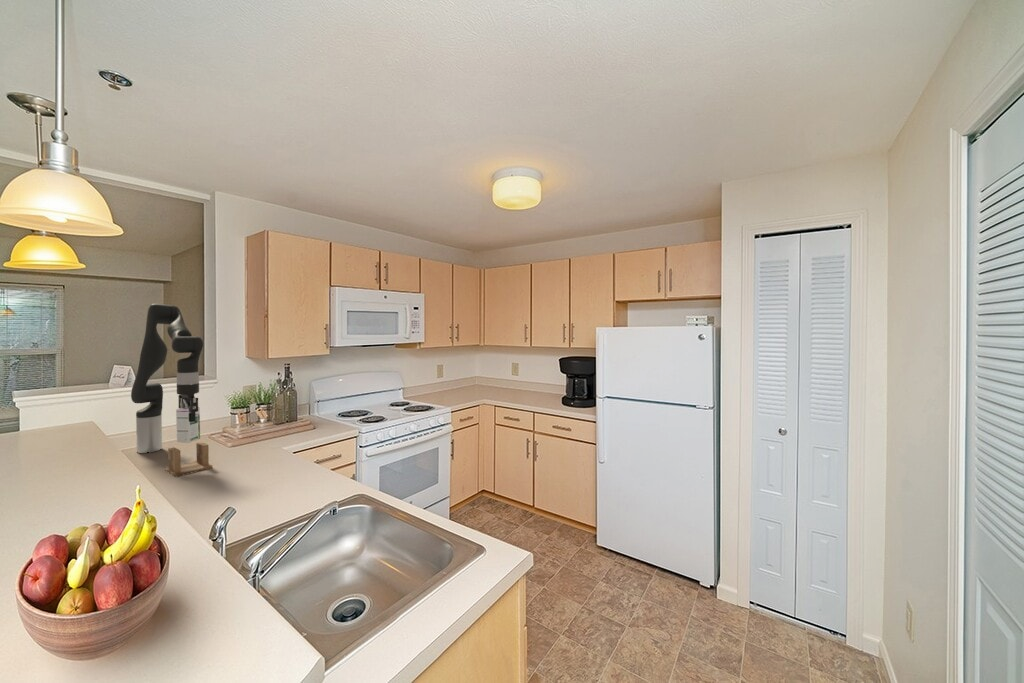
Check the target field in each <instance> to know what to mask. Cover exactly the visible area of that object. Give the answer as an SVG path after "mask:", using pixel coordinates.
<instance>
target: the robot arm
mask: <svg viewBox="0 0 1024 683" xmlns="http://www.w3.org/2000/svg"><path fill="white" fill-rule="evenodd" d="M159 324H160V325H168V326H167V329H166V330H167V331H166V332H167V334H168V336H169V337H170V339H171V349H172V351H173V352H175V353H178V354H188V353H190V355H189V356H188V357H183V358H180V359H177V362H176V367H177V369H176V370H177V371H176V394H177V396H178V409H181V408H185V407H186V409H188V412H189V422H193V421H195V420H196V413H195V412H198V407H199V397H195V394H198V393H200V374H199V360H200V358H201V357H200V356H201V353H202V351H203V347H204V340H203V339H202V337H200V336H192V335H193V334H192V333H191V331H190V330H189V328H188V327H187V326H186V324H185V321H184V318H183V315H182V312H181V310H180V308H179V307H178V306H177V305H174V304H173V305H172V304H163V303H151V304H150V305H149V307H148V309H147V315H146V324H145V333H144V337H143V343H142V345H141V346H142V347H141V350H140V354H139V355H140V356H139V362H138V366H137V372H136V376H135V379H134V382H133V384H132V388H131V393H130V398H131V402H132V403H135V404H145V403H146V404H147V403H149V404H148V405H147V406H145V407H143V408H141V409H139V410H137V411H136V413H135V418H136V419H135V423H136V424H135V426H136V428H135V429H136V453H137V452H138V454H148V453H147V452H149V453H154V452H159V451H161V450H162V449H163V435H162V434H163V432H162V431H163V430H162V428H163V425H162V424H163V423H162V422H163V421H162V415H163V413H162V411H163V403H164V402H163V399H164V397H163V396H164V389H163V386H162V384H161V383H159V382H150V383H148V382H149V380H150V379H151V377H152V376H154V374H155V373H157V371H159V369H161V367H162V366H164V364H165V362H166V360H167V355H168V347H167V345H166V343H165V342H164V340H163V339H162V338H161V335H160V334H159V333H158V329H157V327H158V326H157V325H159ZM160 449H161V450H160Z"/></svg>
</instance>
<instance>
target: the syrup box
mask: <svg viewBox="0 0 1024 683" xmlns="http://www.w3.org/2000/svg"><path fill="white" fill-rule="evenodd" d="M175 412H176V413H175V416H176V417H175V418H176V420H175V421H176V442H177V443H186V444H187V443H189V444H190V443H192V442H195V441H197V440H201V420H200V419H201V415H200V414H201V413H200V406H198V412H195V413H196V420H195V421H193V422H189V412H188V409H186V407H185V408H181V409H180V408H177V409H175Z"/></svg>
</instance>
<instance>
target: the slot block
mask: <svg viewBox="0 0 1024 683" xmlns="http://www.w3.org/2000/svg"><path fill="white" fill-rule="evenodd" d="M195 446H196V447H195V448H196V461H191V462H186V463H183V464H181V460H182V459H181V450H180V449H179V448H176V447H174V446H173V447H169V448H167V453H168V454H167V455H168V456H167V459H168V460H167V462H168V463H167V467H166V468H164V472H166V471H167V472H166V473H168V472H169V473H168V474H169V475H171V474H172V476H173V475H174V476H173V477H175V478H176V476H177V477H180V475H181V476H184V475H183V474H185V475H188V474H187V473H189V474H192V473H191V472H193V473H196V472H195V471H197V472H200V471H199V470H201V471H204V470H203V469H206V470H208V468H210V469H213V465H212V464H210V463H209V461H210V459H209V458H210V457H209V456H210V455H209V444H208V443H205V442H203V441H201V442H196V445H195Z"/></svg>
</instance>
